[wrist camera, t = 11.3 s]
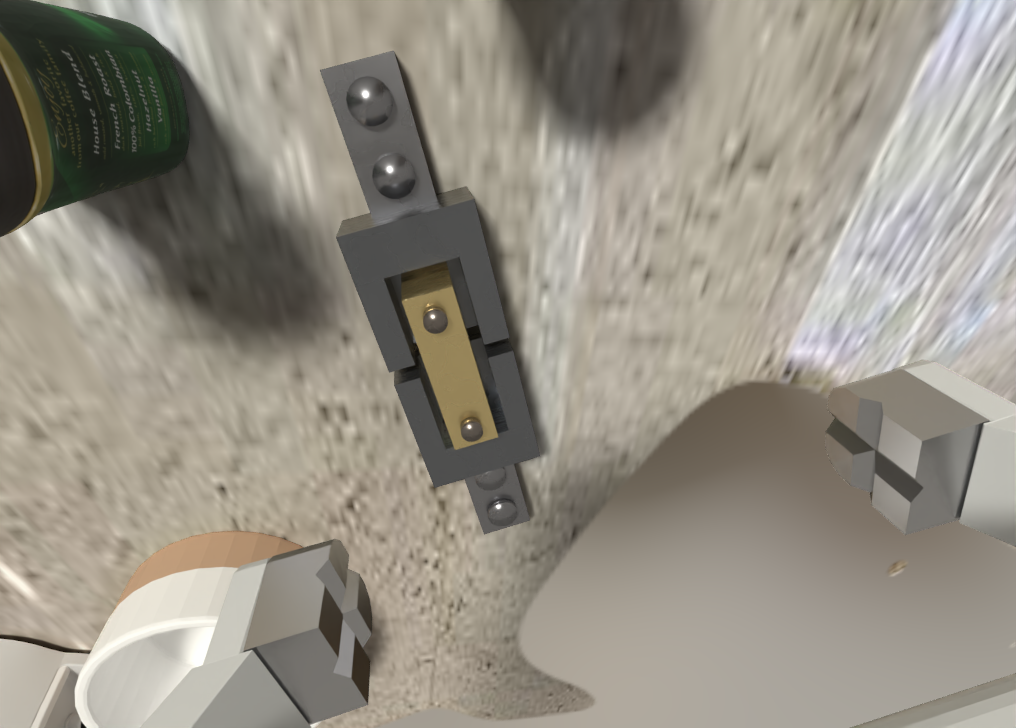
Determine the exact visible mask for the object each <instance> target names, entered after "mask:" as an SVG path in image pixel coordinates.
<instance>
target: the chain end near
mask: <svg viewBox="0 0 1016 728" xmlns="http://www.w3.org/2000/svg"><path fill="white" fill-rule="evenodd" d="M320 72H321V75H322V78H323V80H324V83H325V86H326V89H327V92H328V95H329V97H330V100H331V103H332V106H333V109H334V111H335V114H336V117H337V120H338V123H339V126H340V128H341V131H342V134H343V137H344V140H345V143H346V145H347V148H348V151H349V154H350V157H351V159H352V162H353V165H354V168H355V171H356V174H357V176H358V179H359V182H360V185H361V188H362V191H363V193H364V196H365V199H366V202H367V205H368V207H369V210H370V213H369V214H365V215H362V216H358V217H354V218H351V219H347V220H343V221H342V223H341V226H340V228H339V231H338V234H337V236H336V238H337V241H338V243H339V246H340V249H341V251H342V254H343V256H344V259H345V261H346V264H347V266H348V269H349V271H350V274H351V276H352V279H353V282H354V284H355V287H356V289H357V292H358V294H359V297H360V299H361V302H362V304H363V307H364V310H365V312H366V315H367V317H368V320H369V322H370V325H371V327H372V330H373V332H374V335H375V337H376V340H377V343H378V345H379V348H380V350H381V353H382V355H383V358H384V360H385V363H386V365H387V368H388V370H389V372H392V371H396V370H399V369H403V368H406V367H410V366H413V365H415V355H414V343H416V340H415V337H414V334H413V332H412V329H411V326H410V323H409V321H408V318H407V315H406V312H405V309H404V307H403V304H402V296H401V273H405V272H408V271H412V270H415V269H419V268H423V267H426V266H430V265H433V264H437V263H440V262H444V261H446V263H447V266H448V269H449V272H450V276H451V279H452V282H453V286H454V289H455V292H456V296H457V299H458V302H459V305H460V309H461V312H462V315H463V319H464V322H465V325H466V328H470V327H473V326H477V325H478V327H479V330H480V333H481V336H482V339H483V342H484V345H485V344H489V343H492V342H496V341H499V340H503V339H506V338H510V337H509V333H508V329H507V325H506V321H505V317H504V313H503V309H502V306H501V302H500V298H499V294H498V290H497V286H496V282H495V278H494V274H493V271H492V267H491V263H490V259H489V255H488V251H487V247H486V243H485V239H484V236H483V232H482V228H481V224H480V220H479V216H478V212H477V208H476V205H475V201H474V198H473V196H472V195H471V193H470V191H469V190H468V188H467V187H463V188H459V189H455V190H452V191H448V192H445V193H441V194H437V195H436V194H435V191H434V187H433V184H432V180H431V177H430V173H429V170H428V166H427V163H426V160H425V156H424V153H423V149H422V146H421V142H420V139H419V135H418V132H417V129H416V125H415V122H414V118H413V115H412V111H411V108H410V104H409V101H408V98H407V94H406V91H405V87H404V84H403V80H402V77H401V73H400V70H399V67H398V63H397V60H396V56H395V53H394V51H390V52H387V53H383V54H379V55H375V56H371V57H368V58H364V59H360V60H356V61H353V62H349V63H345V64H341V65H337V66H334V67H330V68H326V69H322V70H320Z"/></svg>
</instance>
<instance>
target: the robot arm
mask: <svg viewBox="0 0 1016 728" xmlns="http://www.w3.org/2000/svg"><path fill="white" fill-rule="evenodd" d="M827 410H828V411H829V412H830V413H831V414H832V415H833V416H834V417H835V419H834V420H833V422H832V423H831V425H830V426H829V428H828V429H827V430H826V438H825V448H826V451H827V454H828V457H829V459H830V462H831V464H832V465H833V467H834V468H835V470H836V471H837V473H838V474H839V475H840V476H841V477H842V478H843V479H844V480H845V481H846V482H847V483H848V484H849V485H850V486H853V487H856V488H859V489H862V490H865V491H868V492H870V498H871V505H872V506H873V507H874V508H875V509H877V510H878V511H879V512H880V513H881V514H882V515H883V516H884V517H885V518H887V519H888V520H889V521H890V522H891V523H892V524H893V525H894V526H895V527H897V528H898V529H899V530H900V531H901V532H902V533H903V534H904V535H907V534H911V533H914V532H918V531H921V530H924V529H928V528H932V527H935V526H939V525H942V524H946V523H949V522H953V521H956V520H960V521H959V523H961V524H963V525H966V526H968V527H971V528H973V529H975V530H978V531H980V532H982V533H985V534H987V535H989V536H992V537H994V538H996V539H999V540H1001V541H1003V542H1006V543H1008V544H1011V545H1013V546H1015V547H1016V404H1014V403H1012V402H1010V401H1008V400H1006V399H1004V398H1002V397H1001V396H999V395H997V394H995V393H993V392H991V391H989V390H987V389H986V388H984V387H982V386H980V385H978V384H976V383H974V382H972V381H971V380H969V379H967V378H965V377H963V376H961V375H959V374H957V373H955V372H954V371H952V370H950V369H948V368H946V367H944V366H942V365H940V364H939V363H937V362H934V361H928V360H920V361H917V362H914V363H911V364H908V365H905V366H902V367H899V368H895V369H893V370H892V371H888V372H884V373H881V374H878V375H875V376H872V377H868V378H865V379H862V380H859V381H855V382H852V383H849V384H846V385H843V386H839V387H836V388H833V390H832V391H831V393H830V395H829V397H828V406H827ZM348 561H349V554H348V552H347V550H346V549H345V547H344V545H343V544H342V542H341V541H340V540H336V539H333V540H329V541H326V542H322V543H318V544H315V545H311V546H307V547H304V548H300V549H297V550H293V551H289V552H286V553H282V554H279V555H275V556H273V557H271V558H267V559H263V560H259V561H256V562H252V563H248V564H245V565H241V566H240V567H239V568H238V569H237V570H236V571H235V572H234V574H233V576H232V579H231V582H230V585H229V588H228V591H227V594H226V597H225V600H224V603H223V606H222V609H221V612H220V615H219V618H218V621H217V624H216V627H215V630H214V633H213V636H212V639H211V642H210V645H209V648H208V651H207V654H206V657H205V659H204V662H203V665H201V666H198V667H195V668H192V669H191V670H190V671H189V672H188V674H187V675H186V676H185V677H184V678H183V679H182V680H181V682H180V683H179V684H178V685H177V686H176V687H175V688H174V689H173V691H172V692H171V693H170V694H169V695H168V696H167V697H166V699H165V700H164V701H163V702H162V703H161V704H160V705H159V706H158V708H157V709H156V710H155V711H154V712H153V713H152V714H151V716H150V717H149V718H148V719H147V720H146V721H145V722H144V723H143V725H142V726H141V727H140V728H311V726H310V725H311V724H314V723H317V722H320V721H323V720H326V719H328V718H331V717H334V716H337V715H340V714H343V713H346V712H349V711H351V710H354V709H357V708H360V707H363V706H366V705H368V696H369V678H370V660H369V658H368V656H367V655H366V653H365V651H364V649H363V647H364V645H365V644H366V642H367V641H368V639H369V638H370V636H371V634H372V612H371V605H370V598H369V595H368V592H367V589H366V586H365V584H364V582H363V580H362V578H361V576H360V574H358V573H356V572H354V571H352V570H350V569H348ZM88 656H89V654H84V653H65V652H60V651H56V650H52V649H48V648H45V647H42V646H38V645H35V644H31V643H26V642H21V641H15V640H8V639H0V728H87V727H86V726H85V725H84V724H83V723H82V721H81V719H80V717H79V714H78V712H77V710H76V707H75V686H76V683H77V680H78V677H79V674H80V671H81V670H82V668H83V666H84V664H85V662H86V660H87V658H88ZM851 728H1016V673H1015V674H1012V675H1009V676H1006V677H1003V678H1000V679H996V680H994V681H990V682H987V683H985V684H981V685H978V686H975V687H972V688H969V689H966V690H963V691H960V692H957V693H954V694H951V695H948V696H945V697H942V698H939V699H936V700H933V701H930V702H927V703H924V704H921V705H918V706H915V707H912V708H909V709H905V710H903V711H899V712H896V713H893V714H891V715H887V716H884V717H881V718H879V719H875V720H872V721H869V722H866V723H863V724H860V725H857V726H854V727H851Z"/></svg>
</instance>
